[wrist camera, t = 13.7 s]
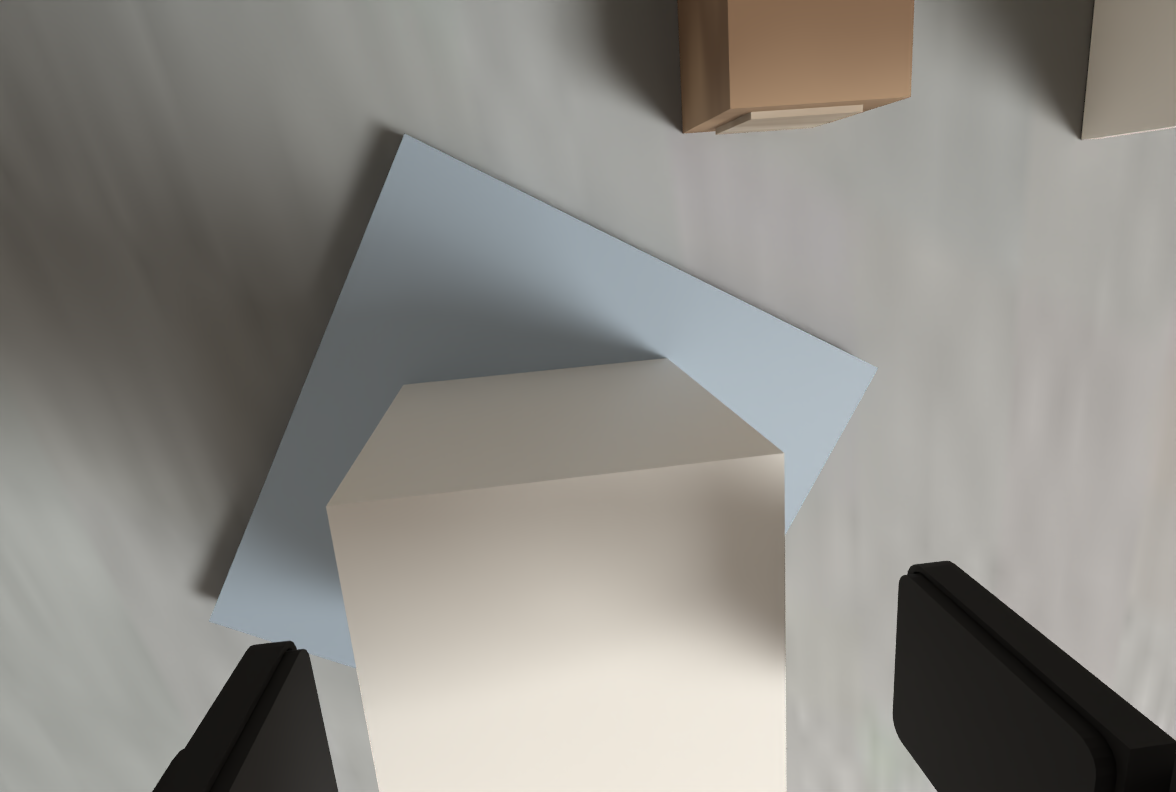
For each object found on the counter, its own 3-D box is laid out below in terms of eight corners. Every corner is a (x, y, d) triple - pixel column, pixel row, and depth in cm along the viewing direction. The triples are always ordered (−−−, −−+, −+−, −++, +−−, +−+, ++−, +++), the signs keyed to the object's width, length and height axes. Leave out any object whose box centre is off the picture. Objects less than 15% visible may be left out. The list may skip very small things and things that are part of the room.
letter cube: (675, -36, 17) (725, -111, 13) (826, -42, 18) (918, -118, 14) (682, 139, 18) (730, 116, 14) (825, 129, 19) (910, 104, 15)
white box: (403, 384, 18) (325, 506, 10) (666, 358, 18) (783, 452, 11) (438, 622, 19) (396, 881, 12) (678, 590, 20) (786, 815, 12)
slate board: (860, 361, 20) (878, 368, 19) (650, 741, 23) (657, 764, 22) (410, 138, 17) (404, 133, 16) (223, 602, 20) (209, 621, 19)
